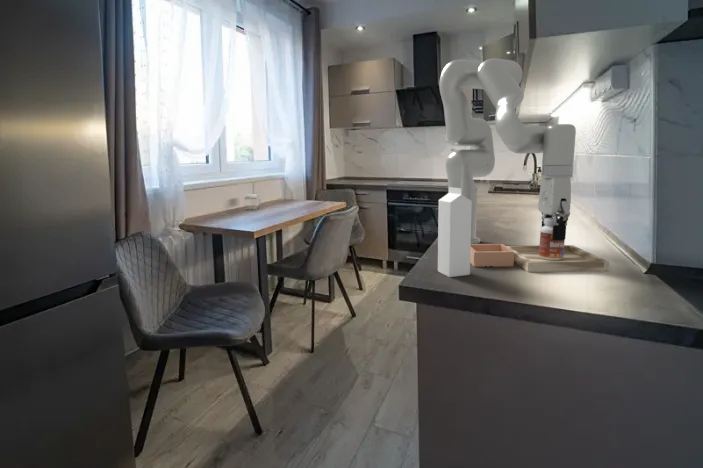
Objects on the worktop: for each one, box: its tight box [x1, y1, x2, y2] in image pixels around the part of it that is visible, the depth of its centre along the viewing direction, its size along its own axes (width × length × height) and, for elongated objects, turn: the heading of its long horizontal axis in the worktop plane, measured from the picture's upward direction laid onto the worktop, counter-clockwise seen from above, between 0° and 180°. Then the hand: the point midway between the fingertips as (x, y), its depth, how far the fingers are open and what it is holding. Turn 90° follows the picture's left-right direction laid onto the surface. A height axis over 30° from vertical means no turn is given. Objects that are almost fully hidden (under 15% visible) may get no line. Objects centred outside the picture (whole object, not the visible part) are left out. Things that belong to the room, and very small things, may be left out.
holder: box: [470, 243, 515, 268], centre depth 118 cm, size 11×11×4 cm
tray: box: [506, 244, 610, 273], centre depth 116 cm, size 20×20×2 cm
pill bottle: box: [539, 217, 566, 260], centre depth 115 cm, size 6×6×11 cm
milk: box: [437, 187, 472, 278], centre depth 106 cm, size 6×6×22 cm
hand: (552, 236), depth 115 cm, fingers open, 6 cm apart
